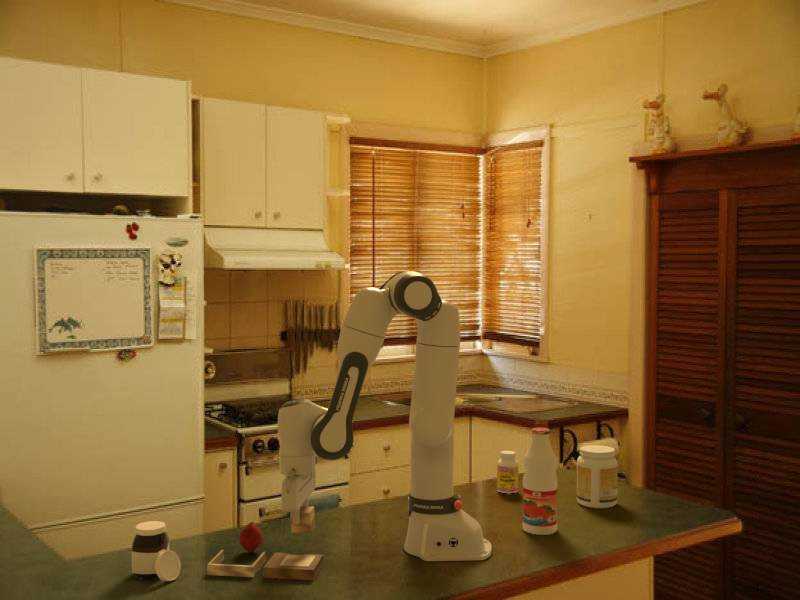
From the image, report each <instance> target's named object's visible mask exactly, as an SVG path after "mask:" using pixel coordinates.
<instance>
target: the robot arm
mask: <svg viewBox="0 0 800 600" xmlns="http://www.w3.org/2000/svg"><path fill="white" fill-rule="evenodd" d="M383 283H384V282H383ZM397 315H403V316H409V317H411V318H414V319H415V321H416V327H417V334H416V342H415V343H416V344H415V345H416V346H415V355H414V356H415V358H414V370H413V379H412V389H411V399H410V407H409V409H410V411H409V420H408V427H409V431H410V433H411V435H410V437H411V438H410V439H411V441H410V463H409V464H410V466H409V468H410V471H409V473H410V476H409V480H410V481H409V483H410V484H409V487H410V490H409V493H408V498H407V512H408V517H409V518H408V527H407V533H406V537H405V542H404V545H403V550H404V551H405V552H406V553H407V554H409V555H411V556H414V557H417V558H419V559H421V560H423V561H425V562H451V561H453V562H454V561H455V562H456V561H458V562H460V561H461V562H463V561H484V560H487V559H488V558H490V556H491V555H492V552H493V550H492V549H493V547H492V543H491V542H490V541H489V540H488V539H486V538H484V534H483V530H482V527H481V524H480V523H479V522H478V521H477V520H476V519H475V518H474V517H472V516H471V515H470V514H468V513H467V512H466V511H465V510H463V509H462V507H463V502H462V498H461V495H460V494H458V495H457V494H456V493H454V459H455V458H454V456H455V455H454V452H455V450H454V449H455V448H454V447H455V446H454V441H455V439H454V437H455V436H454V435H455V434H454V433H455V432H454V431H455V423H454V422H455V410H456V409H455V408H456V399H457V383H458V372H459V359H460V350H461V349H460V346H461V321H460V312H459V309H458V307H457V306H456V305H455V304H453V303H452V302H450V301H447V300H445V299H442V297H441V296H440V294H439V291H438V290H437V286H436V285H435V283H434V282H433V281H432V279H431V278H430V277H429V276H427V275H426V274H423V273H420V272H418V271H414V270H407V271H400V272H397V273H395V274H394V275H392V276H390V278H389V279H388V280H386V281H385V283H384V284H382V285H381V286H380V287H379V288H378V287H372V286H370V287H369V286H367V287H363V288H361V289H359V290H358V291H357V293H356V294H355V296H354V297H353V299H352V300H351V302H350V305H349V308H348V309H347V312H346V315H345V317H344V319H343V322H342V325H341V327H340V328H341V329H340V332H339V337H338V341H337V348H336V349H337V350H336V351H337V356H336V357H337V377H336V381H335V385H334V389H333V391H332V395H331V398H330V400H329V405H328V407H324V406H322V405H319V404H316V403H314V402H312V401H311V400H310V399H308V398H295V399H292V400H289V401H286V402H284V403H283V404H282V405H281V406H280V407H279V409H278V414H277V437H278V441H279V450H278V455H279V456H278V457H279V458H278V459H279V473H280V474H281V475H283V476H284V477H285V478H284V479H283V480H282V482H281V509H282V512H283V513H290V512H291V515H292V520H293V524H299V523H300V522H301V515H300V511H299V510H300V507H308V506H309V497H310V496H311V494H312V493H313V492H314V491H315V489H316V479H317V477H316V476H317V475H316V474H317V464H318V461H319V460H318V457H320V458H321V459H324V460H327V461H336V460H340V459H342V458H344V457H345V456H347V454H348V453H349V452H350V451H351V449H352V447H353V444H354V432H353V419H354V415H355V412H356V409H357V405H358V401H359V398H360V394H361V391H362V388H363V386H364V382H365V380H366V378H367V377H368V374H369V373H370V370H371V369H372V367H373V365H374V363H375V361H376V360H377V357H378V356H379V353H380V351H381V349H382V347H383V344H384V342H385V338H386V335H387V331H388V327H389V325H390V324H391V322H392V321H393V319H394V318H395V317H396V316H397Z"/></svg>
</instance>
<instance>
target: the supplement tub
mask: <svg viewBox="0 0 800 600" xmlns="http://www.w3.org/2000/svg"><path fill="white" fill-rule="evenodd" d="M615 451H616V450H615V448H614V447H611V446H607V445H601V444H600V445H599V444H589V445H583V446H580V447H579V456H578V457H577V460H576V500H577V503H578V504H579V505H581V506H583V507H586V508H592V509H609V507H610V508H612V507H614V506H616V504H618V467H619V466H618V465H619V463H618V460H617V459H616V457H615V456H616V453H615Z"/></svg>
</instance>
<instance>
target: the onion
mask: <svg viewBox="0 0 800 600" xmlns="http://www.w3.org/2000/svg"><path fill="white" fill-rule="evenodd" d="M239 533H240V534H239V537H238V538H239V545H240V546H241V548H243V549H244V550H245V551H247V552H249V553H254V552H255V551H256V550H257V549H258V548H260V547H261V545H262V543H263V541H264V539H263V532H262V530H261V529H260V527H259V526H257V525H255V522H254V521H253V520H250V521H249V522H248V524H247V525H245V526H244V527H243V529H241V531H240V532H239Z"/></svg>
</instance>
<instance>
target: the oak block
mask: <svg viewBox="0 0 800 600" xmlns="http://www.w3.org/2000/svg"><path fill="white" fill-rule="evenodd" d="M299 511H300V515H301V522H300V523H299V524H293V520H292V515H291V512H289V518H290V531H291V534H300V533H303V534H304V533H312V532H313V530H314V529H315V527H316V515H315V506H313V505H312V506H309V505H308V506H307V507H300V510H299Z"/></svg>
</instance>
